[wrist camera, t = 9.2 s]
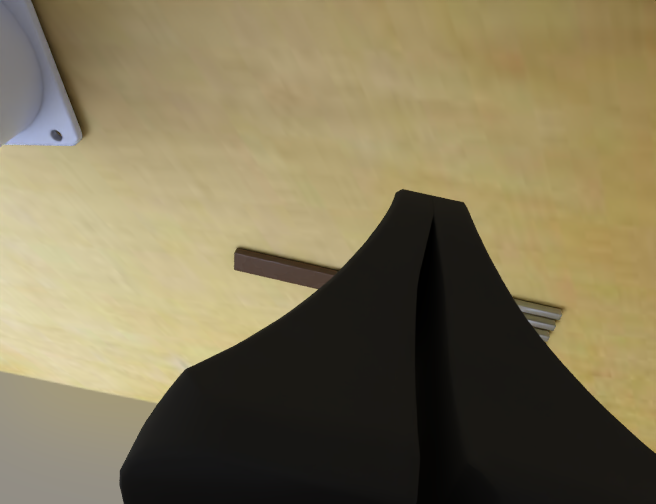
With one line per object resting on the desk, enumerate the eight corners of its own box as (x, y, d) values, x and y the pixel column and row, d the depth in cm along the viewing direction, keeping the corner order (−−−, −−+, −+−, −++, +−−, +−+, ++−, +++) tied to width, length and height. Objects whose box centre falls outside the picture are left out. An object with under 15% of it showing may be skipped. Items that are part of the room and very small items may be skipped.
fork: (236, 275, 28) (233, 280, 27) (236, 236, 26) (234, 241, 26) (540, 345, 27) (541, 352, 26) (561, 309, 25) (562, 315, 25)
